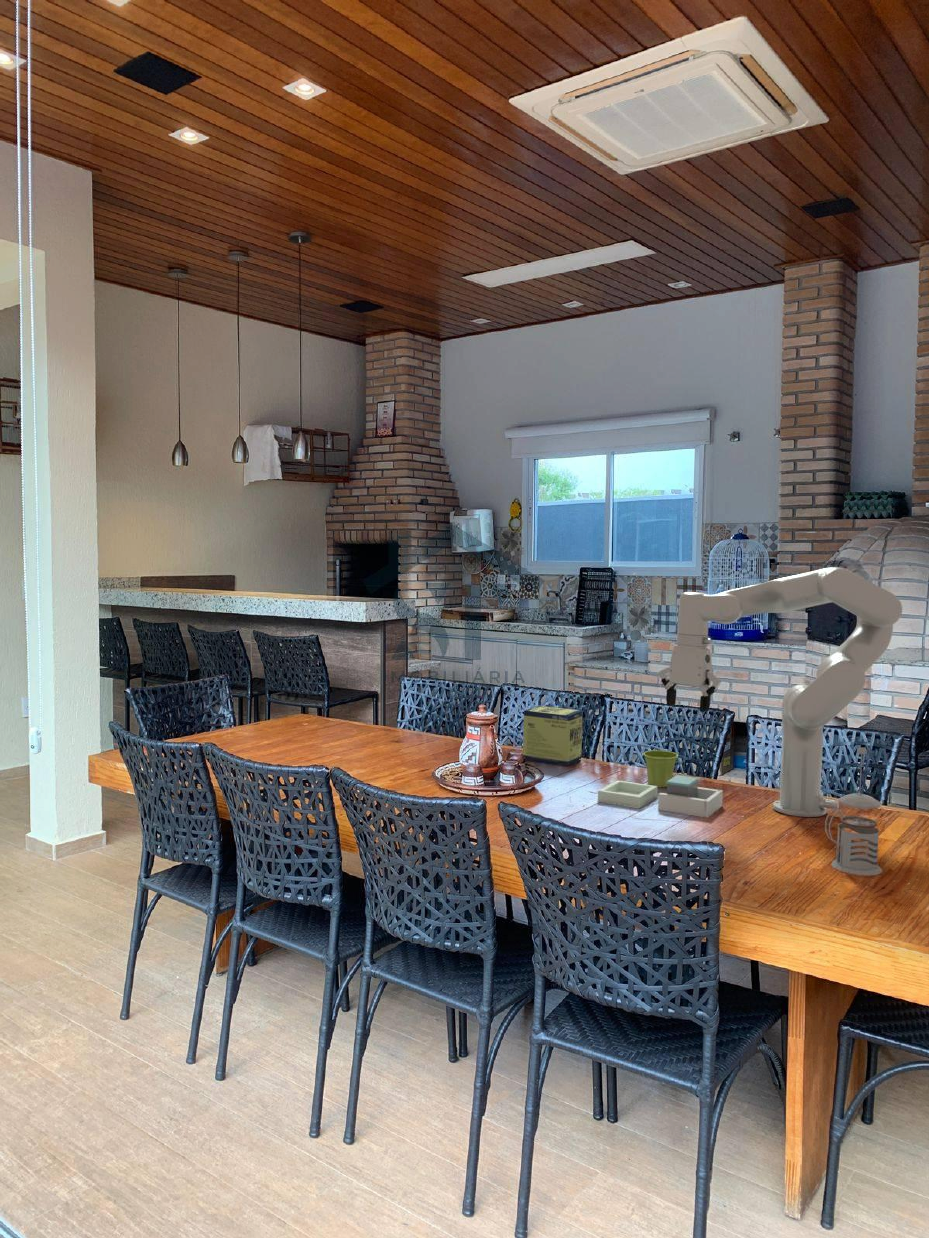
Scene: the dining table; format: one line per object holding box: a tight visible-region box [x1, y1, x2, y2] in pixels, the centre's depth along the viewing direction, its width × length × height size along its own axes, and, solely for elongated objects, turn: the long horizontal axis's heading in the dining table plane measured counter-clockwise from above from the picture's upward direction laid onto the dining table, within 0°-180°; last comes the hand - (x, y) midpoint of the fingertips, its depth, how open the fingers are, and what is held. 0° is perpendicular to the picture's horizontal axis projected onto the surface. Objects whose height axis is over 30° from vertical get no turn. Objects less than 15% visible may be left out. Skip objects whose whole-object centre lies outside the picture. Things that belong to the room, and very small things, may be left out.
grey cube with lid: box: [665, 774, 699, 798], centre depth 236 cm, size 6×8×7 cm
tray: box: [597, 779, 658, 809], centre depth 242 cm, size 11×13×3 cm
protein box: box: [522, 705, 583, 767], centre depth 286 cm, size 10×16×16 cm
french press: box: [824, 747, 883, 877], centre depth 191 cm, size 10×12×25 cm
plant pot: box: [642, 749, 679, 788], centre depth 257 cm, size 9×9×9 cm
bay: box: [657, 786, 724, 818], centre depth 235 cm, size 12×12×4 cm
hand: (687, 708), depth 237 cm, fingers open, 9 cm apart
